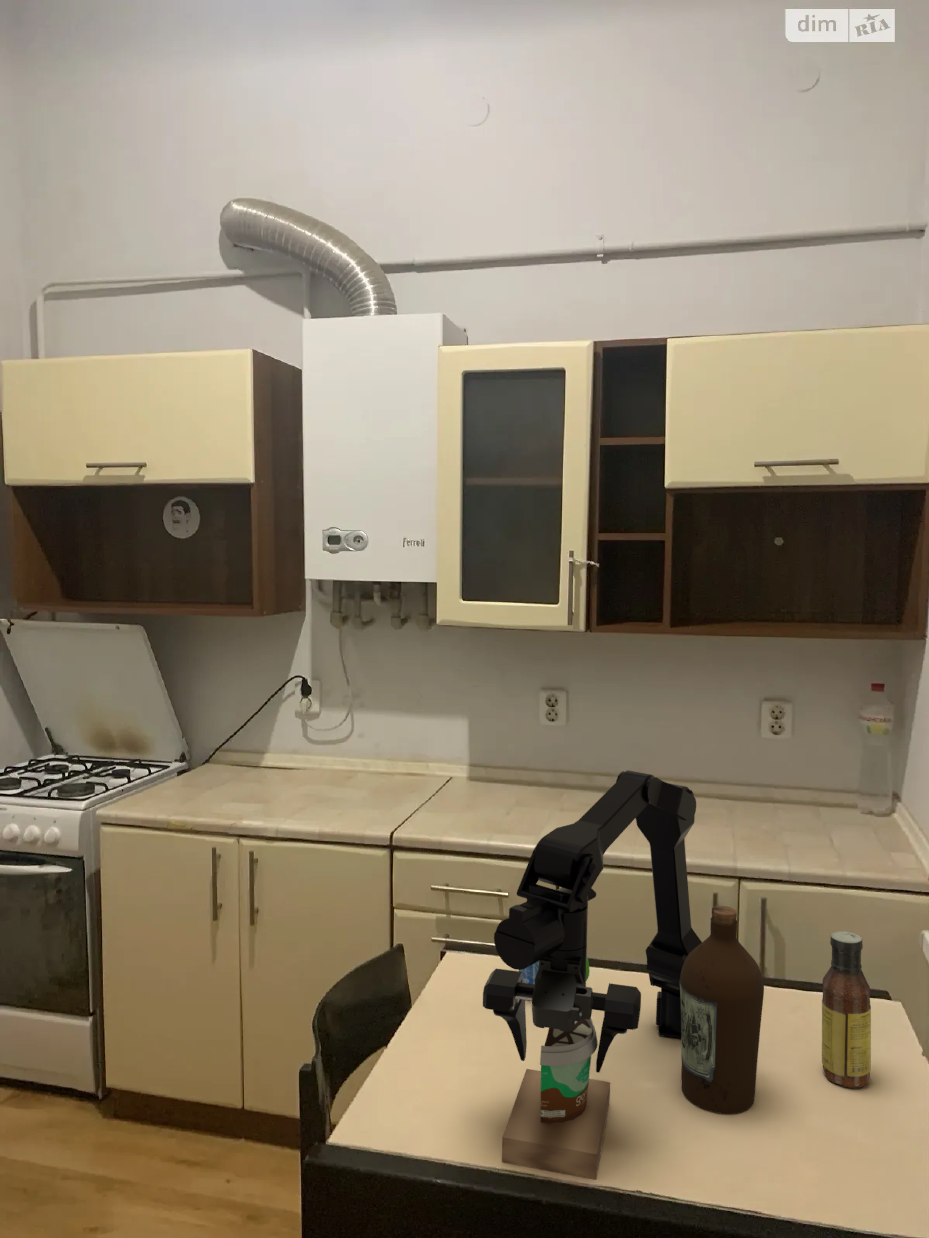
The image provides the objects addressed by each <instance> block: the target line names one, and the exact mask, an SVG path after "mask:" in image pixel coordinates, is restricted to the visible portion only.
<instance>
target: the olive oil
mask: <svg viewBox="0 0 929 1238" xmlns="http://www.w3.org/2000/svg"><path fill="white" fill-rule="evenodd" d="M737 915H738V911H737V910H736V909H735V908H733V907H731V906H728V905H716V906H713V907H711V918H710V924H709V925H710V930H709V931H710V933H709V934H710V935H708V937H706V939H705V940H703V941H701V942H702V943H701V944H700V945H698V946H697V947H696V948H695V949H694V950H692V951H691V952H690V953H689V955H688V956H687V957H686V959H685V962H684V964H683V967H682V970H681V976H680V998H681V1038H680V1040H681V1042H680V1043H681V1045H680V1046H681V1048H680V1049H681V1054H680V1055H681V1057H680V1058H681V1069H680V1070H681V1076H680V1077H681V1081H680V1082H681V1084H680V1085H681V1091H682V1094H683V1095H684V1096H685V1098H686V1099H687V1100H688V1101H689V1102H690V1103H692V1104H694V1105H695V1106H696V1107H698V1108H700V1109H703V1110H704V1111H705V1110H706V1111H708V1112H710V1113H711V1112H712V1113H715V1114H721V1115H733V1114H740V1113H744V1112H746V1111H747V1110H749V1109H750V1108H752V1107H753V1105H754V1103H755V1099H756V1086H757V1070H758V1068H757V1067H758V1059H759V1048H760V1047H759V1045H760V1036H761V1024H762V1013H763V1005H764V1004H763V1003H764V994H765V985H764V979H763V975H762V971H761V968H760V966H759V964H758V962H757V961H756V960H755V959H754V957H753V956H752V955H751V954H750V953H749V952H748V950H746V948H745V947H744V945H742V943H740V941H739V939H738V937H737V936H738V935H737V933H738V921H737V917H738V916H737Z"/></svg>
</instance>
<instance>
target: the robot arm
mask: <svg viewBox="0 0 929 1238" xmlns="http://www.w3.org/2000/svg"><path fill="white" fill-rule="evenodd" d="M696 810H697V800H696V797H695V793H694V792H693V790H692V789H690V788H689V787H688V786H684V785H679V784H674V783H668V782H666V781H663V780H661V778H658V777H656V776H654V775H653V774H651V773H646V772H639V771H636V770H635V771H633V770H626V771H621V772H620V773H619V774H618V776H617V777H616V781H615V783H614V784H613V785H612V786H611V787H610V788H608V790H607V791H606V792H605V793H604V794H603V795H602V796H601V797H599V799H598V800H596V802H595V803H594V804H593V805H592V806H591V807H590V808H589V809H588V810H587V811H586V812H585V813H584V814H583V815H582V816H581V817H580V818H579V819H578V820H576V821H575V822H573V823H571V824H567V825H563V826H559V827H555V828H554V829H553V830H552V831H550V832H548V833H547V834H544V836H542V838H540V840H539V841H538V842H537V844H536V846H534V848H533V850H532V853H531V855H530V858H529V861H528V863H527V865H526V868H525V871H524V873H523V876H522V878H521V881H520V883H519V885H518V888H517V891H516V896H517V897H519V898H524V899H526V901H525V902H522V903H520V904H515V905H513V906H511V907H509V910H508V917H507V918H505V919H503V920H501V921H500V922H499V924H497V926H496V930H495V932H494V933H493V941H494V947H495V950H496V953H497V954H498V956H499V958H500V959H501V961H502V962H503V963H504V964H506V965H507V966H508V967H509V968H510V969H513V970H510V969H503V968H495V969H494V970H493V971H491V973H490V975H489V977H488V979H487V981H486V982H485V984H484V986H483V991H482V1007H483V1008H485V1009H486V1010H492V1012H493V1015H494V1016H497V1017H500V1018H502V1019H503V1020H504V1021H505V1022H506V1024H507V1026H508V1028H509V1030H510V1032H511V1035H512V1037H513V1040H514V1044H515V1047H516V1050H517V1052H518V1056H519V1059H520V1061H522V1062H524V1061H525V1060H526V1055H527V1044H528V1041H527V1019H526V1017H527V1015H526V1001H529V1002H530V1001H531V1012H532V1013H531V1015H532V1023H533V1025H534V1026H535V1027H537V1028H539V1029H545V1028H548V1029H549V1028H553V1029H559V1030H560V1031H570V1030H572V1029H573V1028H574V1024H575V1021H578V1022H582V1019H588V1020H590V1019H591V1020H592V1012H593V1010H595V1011H600V1012H604V1015H603V1020H602V1024H601V1030H600V1038H599V1042H598V1047H597V1048H598V1049H597V1054H596V1055H597V1056H596V1062H595V1063H596V1064H595V1072H596V1073H598V1074H599V1073H600V1072H601V1069H602V1067H603V1064H604V1061H605V1059H606V1057H607V1053H608V1051H609V1049H610V1046H611V1044H612V1042H613V1041H614V1038H615V1037H616V1036H617V1035H618V1034H619V1035H620V1034H621V1035H624V1034H626V1033H627V1032H628V1030H632V1031H633V1030H636V1029H639V1021H640V1015H641V1008H642V993H641V991H640V989H639V988H638V987H637V986H632V985H625V984H617V983H608V985H607V987H608V988H607V991H606V993H601V992H594V991H593V988H592V987H590V986H587V981H586V961H587V958H588V956H587V954H588V914H589V913H588V911H589V901H591V900H593V899H595V898H596V897H597V892H596V891H595V890H594V889H593V887H594V884H595V883H596V881H597V879H598V878H599V875H601V873H602V871H603V870H604V854H605V853H606V852H607V850H608V849H609V847H611V846H612V845H613V844H614V842H615V841H616V840H617V839H618V838H619V837H620V836H621V834H623V832H624V831H625V830H626V829H627V828H628V827H629V826H630V825H631V824H632V823H633V822H634V820H635V822H636V826H637V828H638V829H639V830H640V832H641V834H642V835H643V837H644V838H645V839H646V840H647V842H648V843H649V847H650V860H651V862H650V863H651V870H652V871H651V872H652V882H653V883H652V884H653V885H652V886H653V893H654V894H653V895H654V905H655V906H654V907H655V917H656V927H657V931H656V934H655V936H654V937H653V938H652V940H651V941H650V943H649V944H648V946H647V947H646V949H645V954H646V970H647V972H648V978H649V984H650V986H653V987H657V988H660V991H657V993H656V1007H655V1008H656V1009H655V1024H656V1026H658V1035H659V1036H663V1037H668V1038H669V1037H670V1038H676V1039H681V998H680V976H681V970H682V967H683V964H684V962H685V959H686V957H687V956H688V955H689V953H690V952H691V951H692V950H694V949H695V948H696V947H697V946H698V945H700V944H701V943H702V942H703V941H702V940H701V938H700V937H699V936H698V935H697V933H696V932H695V930H694V929H693V928H692V919H691V918H692V917H691V906H690V893H689V884H688V883H689V882H688V868H687V855H686V845H685V838H686V837H687V836H688V833H689V832H690V830H691V829H692V827H693V826H694V824H695V820H696V819H695V817H696V815H695V814H696ZM538 882H542V883H545V884H549V885H552V886H555V887H559V888H557V889H554V888H551V887H548V886H547V887H546V886H544V885H541V884H540V885H539V884H538ZM538 961H539V969H538V972H537V975H536V977H535V982H534V984H529V983H523V974H522V972H519V970H522V969H525V968H527V967H529V966H531V965H532V964H534V963H536V962H538Z"/></svg>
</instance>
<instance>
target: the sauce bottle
mask: <svg viewBox="0 0 929 1238" xmlns="http://www.w3.org/2000/svg"><path fill="white" fill-rule="evenodd" d="M829 939H830V940H829V943H830V946H831V962H830V967H829V969H828V970H827V972H826V973H825V974H824V976H823V978H822V1000H821V1064H822V1071H823V1073H824V1076H825V1077H826V1079H828V1081H830V1082H832V1083H835V1084H837V1085H839V1086H843V1087H845V1088H851V1089H852V1088H863V1087H864V1086H867V1085H868V1083H869V1082H870V1079H871V1075H870V1074H871V1068H872V1058H871V1057H872V1040H871V1039H872V1007H871V987H870V985H869V983H868V981H867V979H866V977H865V974H864V972H863V970H862V968H863V967H862V950H863V947H864V946H863V938H862V936H860V935H858V934H856V933H854V932H850V931H846V930H843V931H842V930H841V931H835V932H832V933H831V934H830V938H829Z"/></svg>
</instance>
